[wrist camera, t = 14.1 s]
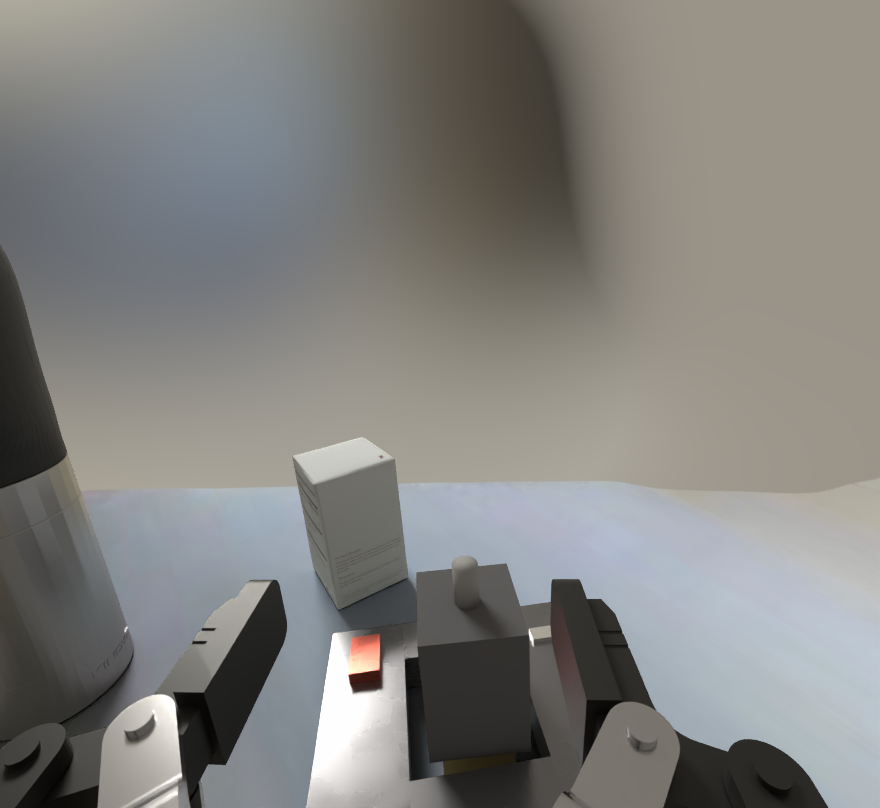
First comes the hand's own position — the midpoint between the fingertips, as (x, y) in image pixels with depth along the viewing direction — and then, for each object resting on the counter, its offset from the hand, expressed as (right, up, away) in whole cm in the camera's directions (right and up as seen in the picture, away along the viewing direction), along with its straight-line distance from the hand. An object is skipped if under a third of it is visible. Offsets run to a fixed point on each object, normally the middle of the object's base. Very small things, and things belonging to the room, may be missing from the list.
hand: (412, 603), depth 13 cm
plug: (+3, -15, +15) cm, 21 cm away
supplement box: (-7, -11, +30) cm, 33 cm away
